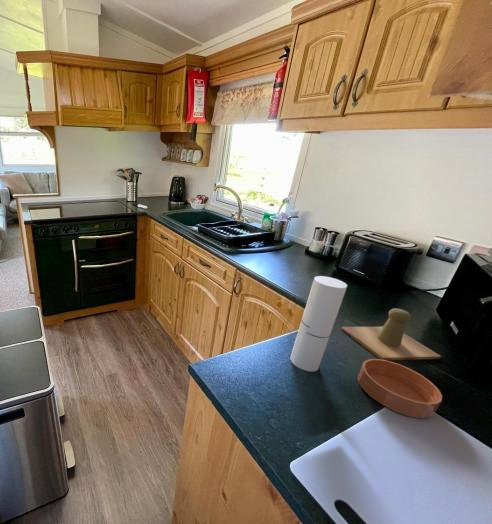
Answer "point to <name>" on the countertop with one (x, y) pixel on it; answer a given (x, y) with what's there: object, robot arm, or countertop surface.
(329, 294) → the cylindrical container
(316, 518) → the countertop surface
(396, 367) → the terracotta dish
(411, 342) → the cutting board
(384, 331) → the pepper shaker
